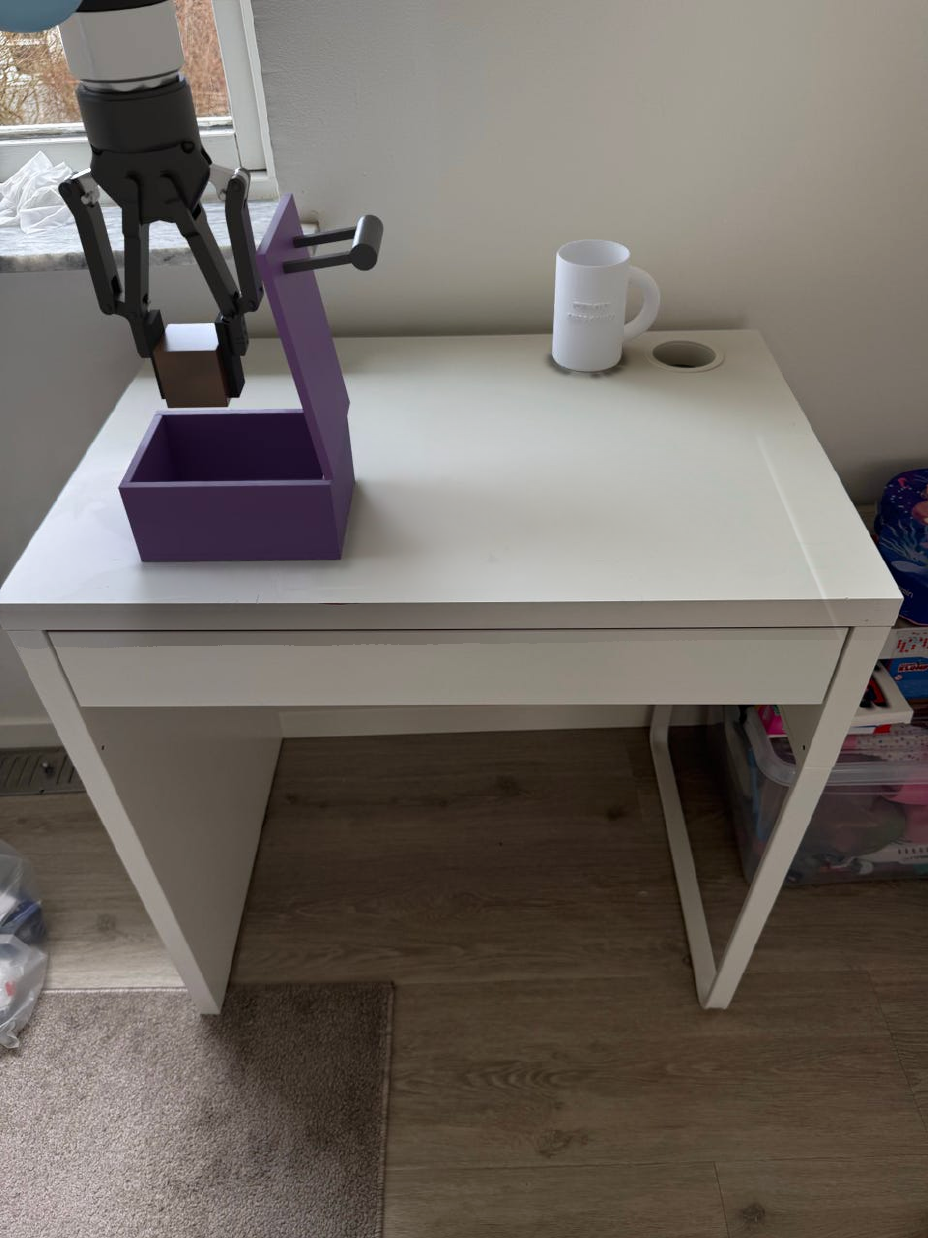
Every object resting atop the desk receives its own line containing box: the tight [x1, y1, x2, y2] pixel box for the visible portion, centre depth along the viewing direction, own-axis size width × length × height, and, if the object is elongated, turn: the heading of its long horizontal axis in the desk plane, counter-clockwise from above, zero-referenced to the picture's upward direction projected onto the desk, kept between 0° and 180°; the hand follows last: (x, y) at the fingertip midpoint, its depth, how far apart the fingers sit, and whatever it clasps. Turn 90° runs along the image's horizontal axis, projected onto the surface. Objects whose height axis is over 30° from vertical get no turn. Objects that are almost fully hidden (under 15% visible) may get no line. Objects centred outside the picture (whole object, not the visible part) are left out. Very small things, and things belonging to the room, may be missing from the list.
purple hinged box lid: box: [255, 193, 384, 481], centre depth 75 cm, size 19×13×8 cm
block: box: [153, 322, 232, 409], centre depth 77 cm, size 5×5×5 cm
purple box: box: [117, 408, 356, 562], centre depth 85 cm, size 18×13×8 cm
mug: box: [551, 239, 661, 373], centre depth 106 cm, size 8×12×12 cm
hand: (203, 389), depth 79 cm, fingers closed on block, 5 cm apart
